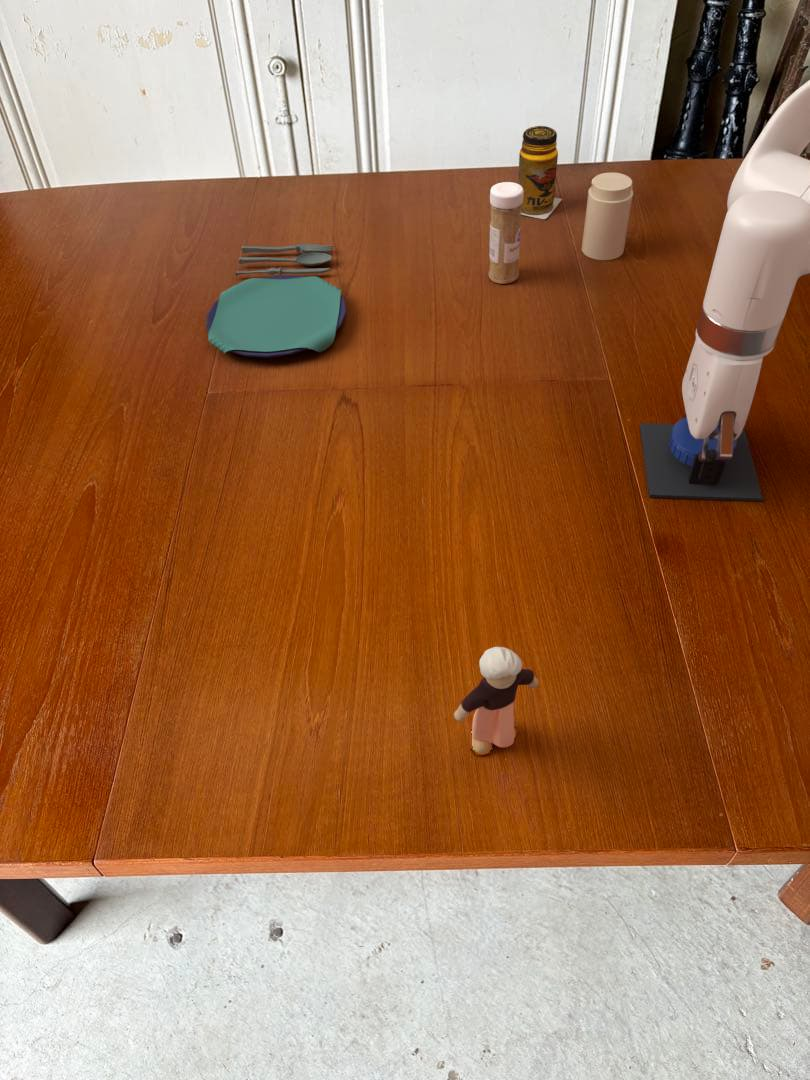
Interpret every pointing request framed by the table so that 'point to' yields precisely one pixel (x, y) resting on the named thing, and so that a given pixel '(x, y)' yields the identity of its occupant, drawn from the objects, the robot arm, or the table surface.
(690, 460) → the lid
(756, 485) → the mat
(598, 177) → the jar
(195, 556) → the table surface
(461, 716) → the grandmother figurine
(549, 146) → the condiment
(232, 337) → the cutlery set
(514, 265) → the spice bottle
